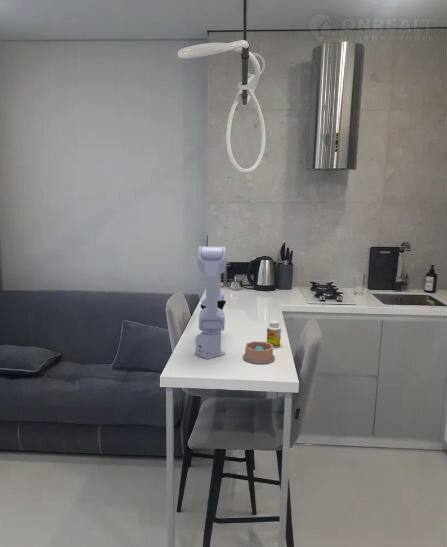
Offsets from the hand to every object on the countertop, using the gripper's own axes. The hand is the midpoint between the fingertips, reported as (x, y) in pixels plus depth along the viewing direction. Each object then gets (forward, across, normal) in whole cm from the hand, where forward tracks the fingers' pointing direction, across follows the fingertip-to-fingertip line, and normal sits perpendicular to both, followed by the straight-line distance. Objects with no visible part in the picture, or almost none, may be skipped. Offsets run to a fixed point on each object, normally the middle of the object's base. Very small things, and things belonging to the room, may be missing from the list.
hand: (213, 319), depth 192 cm
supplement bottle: (+10, +8, -24) cm, 27 cm away
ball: (+7, -8, -26) cm, 28 cm away
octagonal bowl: (+9, -8, -26) cm, 28 cm away
